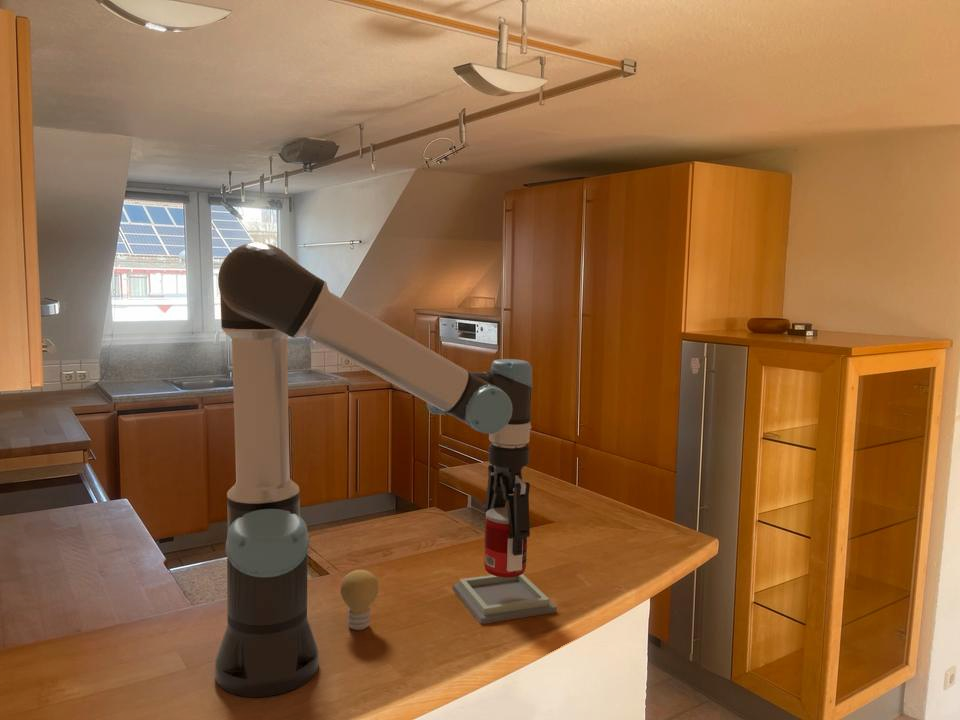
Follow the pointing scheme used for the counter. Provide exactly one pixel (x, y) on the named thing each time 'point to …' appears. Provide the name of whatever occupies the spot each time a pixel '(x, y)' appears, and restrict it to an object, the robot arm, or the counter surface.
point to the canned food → (499, 544)
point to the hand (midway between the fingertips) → (504, 561)
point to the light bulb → (359, 597)
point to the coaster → (502, 598)
